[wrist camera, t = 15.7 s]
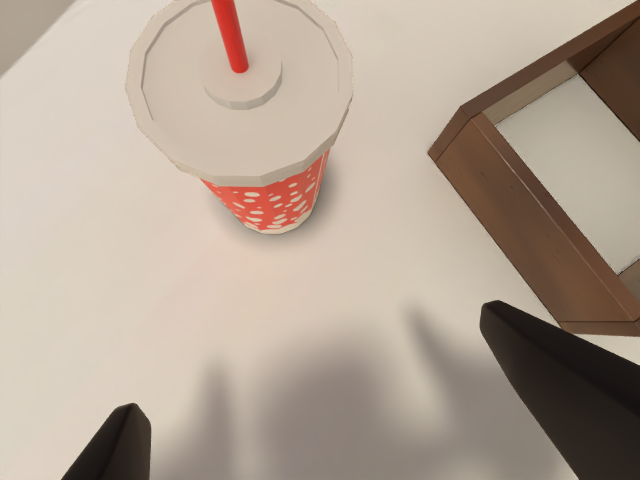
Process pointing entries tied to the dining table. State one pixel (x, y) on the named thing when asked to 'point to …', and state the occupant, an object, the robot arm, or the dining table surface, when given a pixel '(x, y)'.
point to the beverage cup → (244, 100)
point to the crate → (531, 196)
